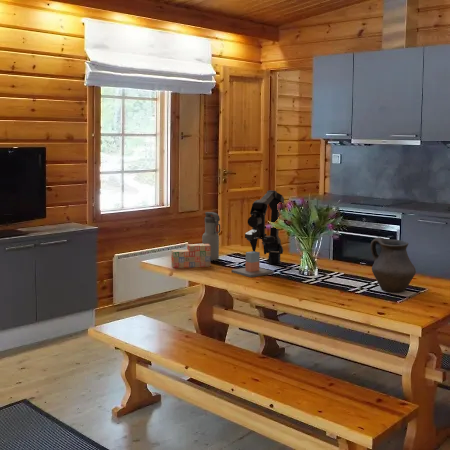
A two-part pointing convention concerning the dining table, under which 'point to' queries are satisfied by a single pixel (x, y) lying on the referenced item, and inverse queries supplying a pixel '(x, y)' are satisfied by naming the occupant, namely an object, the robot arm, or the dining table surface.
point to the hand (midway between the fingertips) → (259, 252)
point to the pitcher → (392, 265)
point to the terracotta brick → (252, 266)
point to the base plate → (252, 274)
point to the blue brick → (252, 256)
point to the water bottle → (212, 234)
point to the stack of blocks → (192, 256)
